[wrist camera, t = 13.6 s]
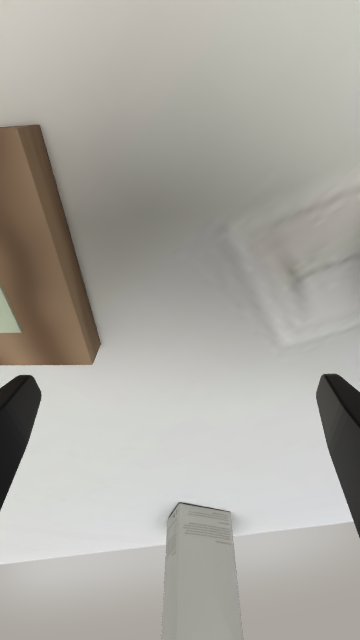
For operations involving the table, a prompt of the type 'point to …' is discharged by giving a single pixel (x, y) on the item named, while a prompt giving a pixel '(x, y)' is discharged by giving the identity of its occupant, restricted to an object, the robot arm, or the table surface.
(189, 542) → the skincare box
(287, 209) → the table surface
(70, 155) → the table surface
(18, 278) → the dock
